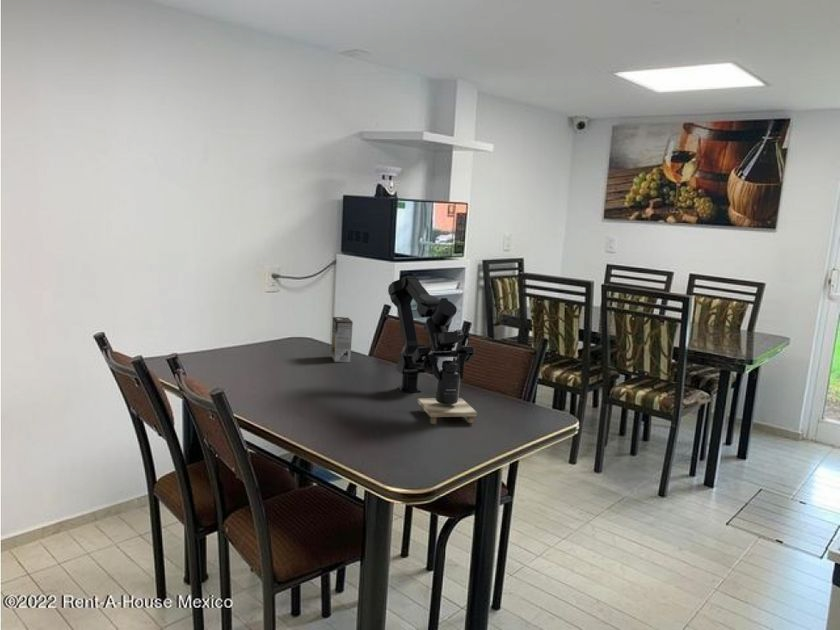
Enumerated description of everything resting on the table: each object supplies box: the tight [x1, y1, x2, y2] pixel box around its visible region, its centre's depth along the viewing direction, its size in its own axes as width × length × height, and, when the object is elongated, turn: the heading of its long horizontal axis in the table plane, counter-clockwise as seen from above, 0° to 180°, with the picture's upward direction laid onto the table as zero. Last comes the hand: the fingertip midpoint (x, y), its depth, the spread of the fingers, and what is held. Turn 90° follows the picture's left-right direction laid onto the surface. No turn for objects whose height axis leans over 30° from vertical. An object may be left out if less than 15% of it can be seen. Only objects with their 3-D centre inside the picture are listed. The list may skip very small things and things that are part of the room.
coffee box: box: [331, 316, 354, 363], centre depth 250 cm, size 9×6×16 cm
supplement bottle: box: [434, 359, 461, 404], centre depth 188 cm, size 7×7×12 cm
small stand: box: [417, 397, 478, 425], centre depth 190 cm, size 14×14×4 cm
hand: (450, 379), depth 187 cm, fingers closed on supplement bottle, 7 cm apart
